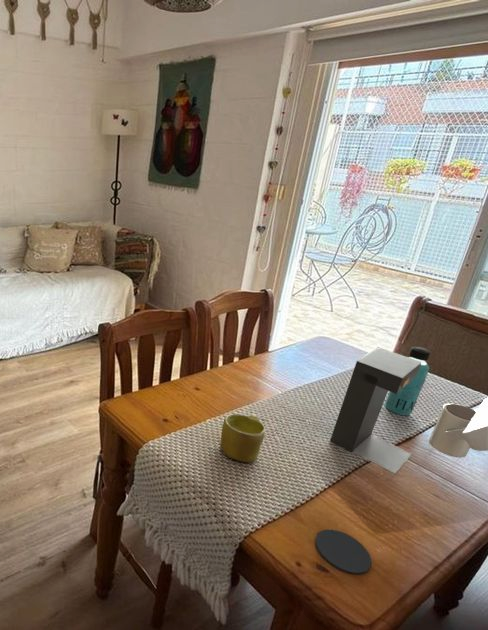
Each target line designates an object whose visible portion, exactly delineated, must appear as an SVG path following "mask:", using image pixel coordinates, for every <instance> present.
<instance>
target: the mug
mask: <svg viewBox="0 0 488 630" xmlns="http://www.w3.org/2000/svg"><path fill="white" fill-rule="evenodd" d="M221 427H222V428H221V433H220V435H221V436H220V448H221V451H222V453H224V455H226V456H227V457H228V458H230V459H232V460H235V461H238V462H242V463H243V462H244V463H253V462H254V461H256V460H257V459H258V458H259V455H260V451H261V447H262V444H263V441H264V439H265V436H266V427H265V425H264V424H263V422H261V421H260V417H259V416H258V414H257V415H256V414H254V413H252V414H250V415H246V414H245V415H244V414H240V413H232V414H228V415H225V417H224V419H223V423H222V426H221Z"/></svg>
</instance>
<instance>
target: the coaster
mask: <svg viewBox="0 0 488 630" xmlns="http://www.w3.org/2000/svg"><path fill="white" fill-rule="evenodd" d="M314 541H315V542H314V544H315V547H316V550H317V551H318V553H319V554H320V556H321V557H322V558H323V559H324V561H326V562H327V563H328V564H329V565H330V566H331V567H333V568H334V569H337V570H339V571H341V572H343V573H347V574H350V575H363V574H366V573H368V571H370V569H371V566H372V558H371V556H370V553H369V551H368V549H367V548H366V547H365V546H364V545H363V544H362V543H361V542H360V541H359V540H357V538H354V537H353V536H352V535H350V534H348V533H345V532H343V531H340V530H337V529H330V528H329V529H328V528H327V529H323V530H321V531H319V532H318V533H317V534H316V535H315V540H314Z"/></svg>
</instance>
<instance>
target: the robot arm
mask: <svg viewBox="0 0 488 630" xmlns="http://www.w3.org/2000/svg"><path fill="white" fill-rule="evenodd" d="M474 410H475V411H476V413H475V414H474V416H473V418H472V419H471V421H470V422H469V424H468V425H467V427H464V428H462V429H455V428H453V429H447V430H446V431H445V433H444V435H445V436H446V438H447V439H448V440H456V439H460V440H466V442H467V443H468V445H469V446H470V449H472V450H473V451H478V452H487V451H488V397H487V398H485V399H483V401H482V402H481V403H480V405H479V407H478V408H476V409H474Z"/></svg>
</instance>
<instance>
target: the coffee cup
mask: <svg viewBox="0 0 488 630" xmlns="http://www.w3.org/2000/svg"><path fill="white" fill-rule="evenodd" d="M475 413H476V411H475V409H473V408H471V407H468V406H466V405H462V404H457V403H445V404H444V405H443V407H442V409H441V412H440V414H439V416H438V418H437V419H436V422H435V426H434V427H433V430H432V432H431V434H430V436H429V438H428V443H429V445H430V446H431V447H432V448H433V449H435V450H436V451H437V452H439V453H441V454H443V455H446V456H448V457H452V458H458V459H459V458H461V459H462V458H465V457H466V456H467V455H468V454H469V452H470V449H471V448H470V446H469V445H468V443H467V442H466V440H460V439H456V440H448V439H447V438H446V436H445V435H444V433H445V431H446V430H447V429H453V428H455V429H462V428H464V427H467V425H468V424H469V422H470V421H471V419H472V418H473V416H474V414H475Z"/></svg>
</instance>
